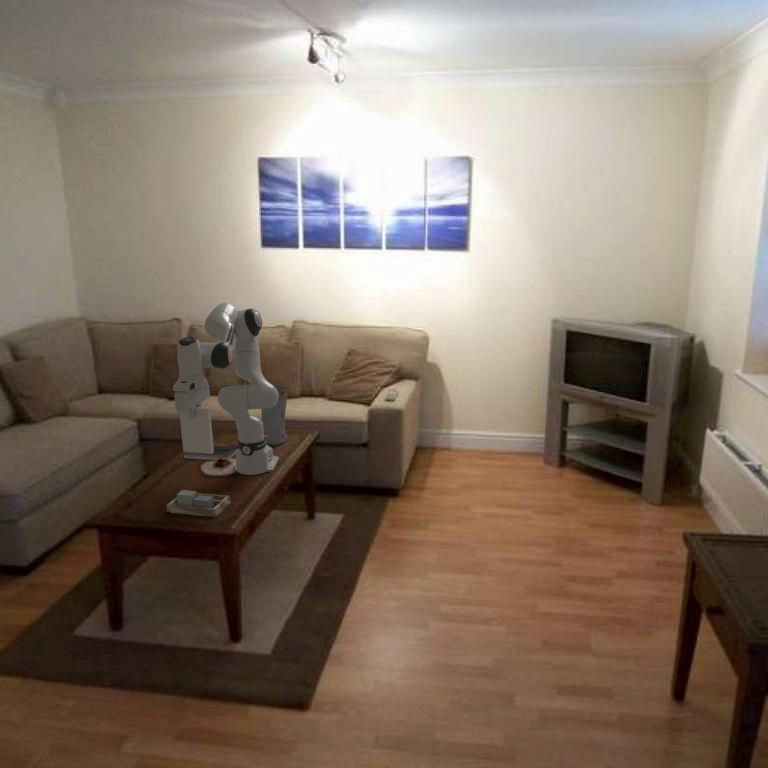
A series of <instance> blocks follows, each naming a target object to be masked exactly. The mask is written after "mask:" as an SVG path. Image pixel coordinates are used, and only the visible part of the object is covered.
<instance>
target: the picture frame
mask: <svg viewBox="0 0 768 768" xmlns="http://www.w3.org/2000/svg"><path fill="white" fill-rule="evenodd" d="M213 447H214V452H213V453H212V454H208V453H195V452H186V453H185V454H184V455H183V457H184V459H186V460H189V459H190V460H203V461H205V460H206V461H216V460H215V459H218V458H224V459H229V460H230V459H232V458H233V457H234V456H236V451H237V450H238V449H239V448H238V444H219V443H213Z"/></svg>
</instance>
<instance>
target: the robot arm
mask: <svg viewBox="0 0 768 768" xmlns="http://www.w3.org/2000/svg"><path fill="white" fill-rule="evenodd" d="M262 327H263V319H262V316H261V313H260V312H259V311H258V310H257V309H255V308H246V309H243V310H237V309H236V307H235V306H234V305H233V304H231V303H227V302H223V303H220V304H218V305H217V306H216V307H214V308H213V310H212V311H210V313H209V314H208V316H207V317H206V318H205V320H204V330H205V332H206V334H207V335H208V336H209V337H210V339H211V338H212V339H213V340H214V341H215V340H216V341H220V342H204V341H202V342H201V341H199V339H198V338H197V337H194V336H188V337H183V338H181V339H179V340H178V342H177V346H176V349H177V350H176V351H177V352H176V356H177V357H176V358H177V364H178V368H179V369H178V371H179V372H178V378H177V381H175V383H174V384H173V386H172V390H173V392H174V406H175V409H176V410H177V412H179V411H180V412H186V411H188V412H189V413H190V417H191V418H194V417H196V412H194V410H193V409H194V407H202V403H203V402H204V401H206V400H208V399H209V398H210V397H211V389H210V383H209V382H208V380H207V377H206V376H205V375H204V370H203V368H212V369H213V368H214V369H215V368H216V369H223V370H225V369H227V368H228V367H229V366H230V365H231V363H232V361H233V356H234V372H235V374H236V375H237V376H238V378H241V379H243V380H245V381H247V382H248V384H238V385H237V384H232V385H227V386H225V387H221V389H220V390H219V392H218V394H217V395H218V396H217V403H218V404H219V406H220V408H221V409H222V410H224V411H225V412H227V413H228V414H230V416H231V417H232V418H233V420H234V421H235V424H236V429H237V436H238V437H237V438H238V440H237V445H238V448H239V449H238V450H237V451H236V454H235V464H236V466H235V467H236V468H237V470H236V471H237V472H238V474H242V475H248V476H254V475H255V476H256V475H260V474H264V473H267V472H274V470H275V468H276V466H277V464H278V462H279V459H280V458H279V456H277V455H275V454H274V449H273V447H272V446H270V445H267V444H266V440H267V439H268V436H267V435H266V436H264V430H263V422H262V418H259V417H258V416H256V415H252V413H250V412H249V411H250V410H252V411H253V410H261V409H266V408H270V407H274V406H275V405H276V403H277V402H278V398H279V395H278V391H277V389H276V388H275V387H274V384H272V383H270V382H269V381H268V380H267V379H266V378H265V376H264V375H263V371H262V365H261V352H260V351H261V349H260V343H259V340H258V337H257V336H259V333H260V331H261V329H262ZM233 353H234V354H233ZM180 412H179V413H180Z"/></svg>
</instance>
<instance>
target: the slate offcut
mask: <svg viewBox="0 0 768 768" xmlns="http://www.w3.org/2000/svg"><path fill="white" fill-rule="evenodd" d="M194 506H195V507H205V508H214V501H213V496H202V495H199V496H197V497H196V498H195V499H194Z"/></svg>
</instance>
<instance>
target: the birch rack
mask: <svg viewBox="0 0 768 768" xmlns="http://www.w3.org/2000/svg"><path fill="white" fill-rule="evenodd" d="M196 494H197V496H199V495H202V496H213V501H214V508H205V507H194V506H184V505H178V500H177V496H176V497H175V498H173V499H172V500H171V501H169V503H167V504H166V507H165V508H166V513H167V512H170V513H169V514H177V515H179V514H180V515H191V516H202V517H211V518H216V517H217V516H218V515H219V514H221V513H222V512H223V511H224V510H225V509H226V508H227V507H228V506H229V505H230V504H231V495H224V494H216V493H215V494H214V493H203V492H202V493H200V492H196Z"/></svg>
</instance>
